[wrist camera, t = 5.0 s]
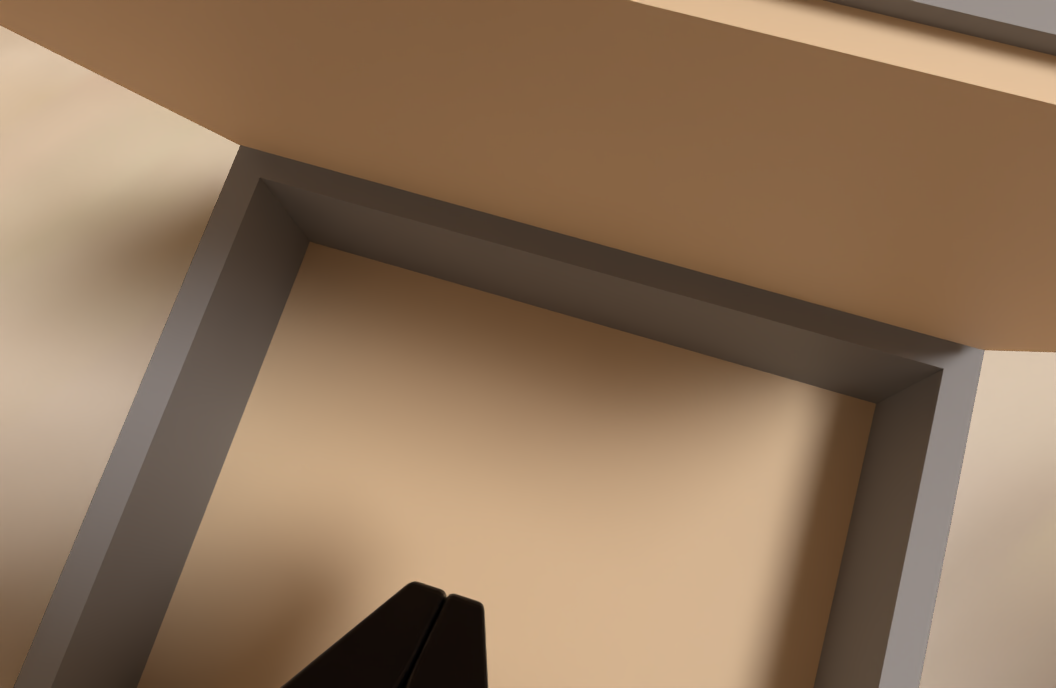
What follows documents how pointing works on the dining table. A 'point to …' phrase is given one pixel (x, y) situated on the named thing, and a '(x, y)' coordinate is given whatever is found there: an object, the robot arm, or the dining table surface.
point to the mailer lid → (656, 128)
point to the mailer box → (507, 460)
